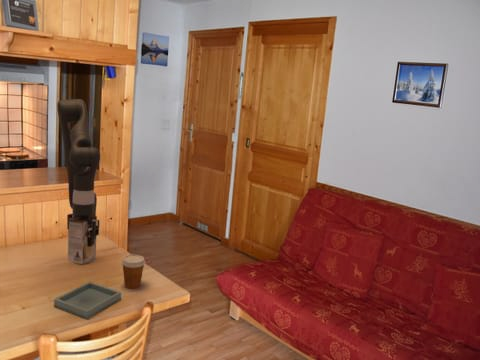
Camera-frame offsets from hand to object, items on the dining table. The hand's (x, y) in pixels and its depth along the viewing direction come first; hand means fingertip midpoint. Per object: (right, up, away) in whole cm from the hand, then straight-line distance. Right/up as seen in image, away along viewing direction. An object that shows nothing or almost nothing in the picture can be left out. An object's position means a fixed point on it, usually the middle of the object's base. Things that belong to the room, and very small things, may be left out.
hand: (82, 243), depth 165 cm
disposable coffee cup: (+14, -20, +20) cm, 32 cm away
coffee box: (-1, -6, +1) cm, 6 cm away
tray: (+1, -23, +3) cm, 23 cm away
